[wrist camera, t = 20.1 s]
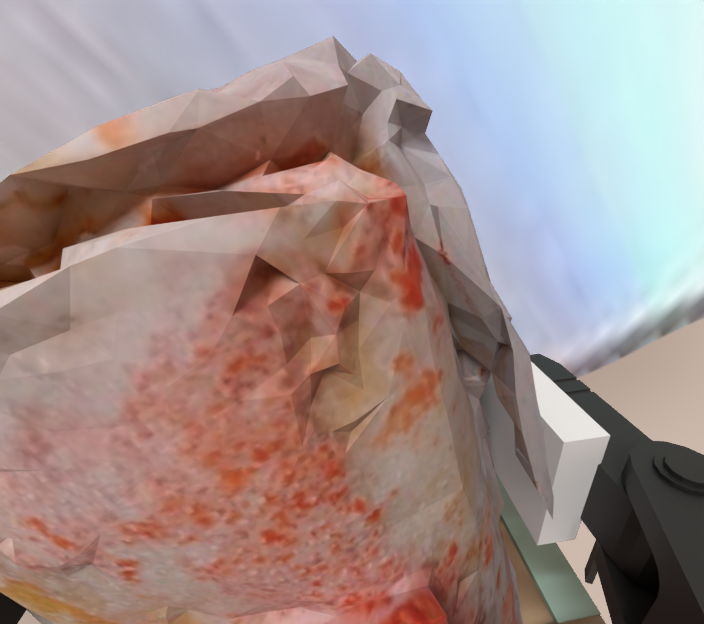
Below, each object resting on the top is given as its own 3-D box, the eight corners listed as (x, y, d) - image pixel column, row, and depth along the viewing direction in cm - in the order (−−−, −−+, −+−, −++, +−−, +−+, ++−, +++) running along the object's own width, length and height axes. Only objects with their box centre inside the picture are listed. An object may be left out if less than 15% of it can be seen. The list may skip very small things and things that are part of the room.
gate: (230, 462, 23) (139, 777, 11) (220, 439, 22) (110, 758, 10) (463, 419, 23) (610, 677, 12) (463, 396, 22) (624, 651, 11)
